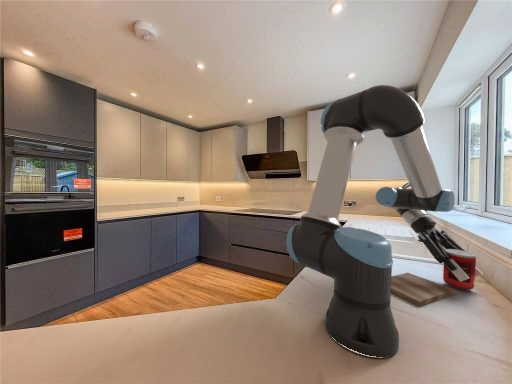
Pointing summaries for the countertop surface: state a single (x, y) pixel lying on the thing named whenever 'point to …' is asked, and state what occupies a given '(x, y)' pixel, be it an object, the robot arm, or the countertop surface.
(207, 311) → the countertop surface
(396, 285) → the walnut board
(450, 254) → the canned food
